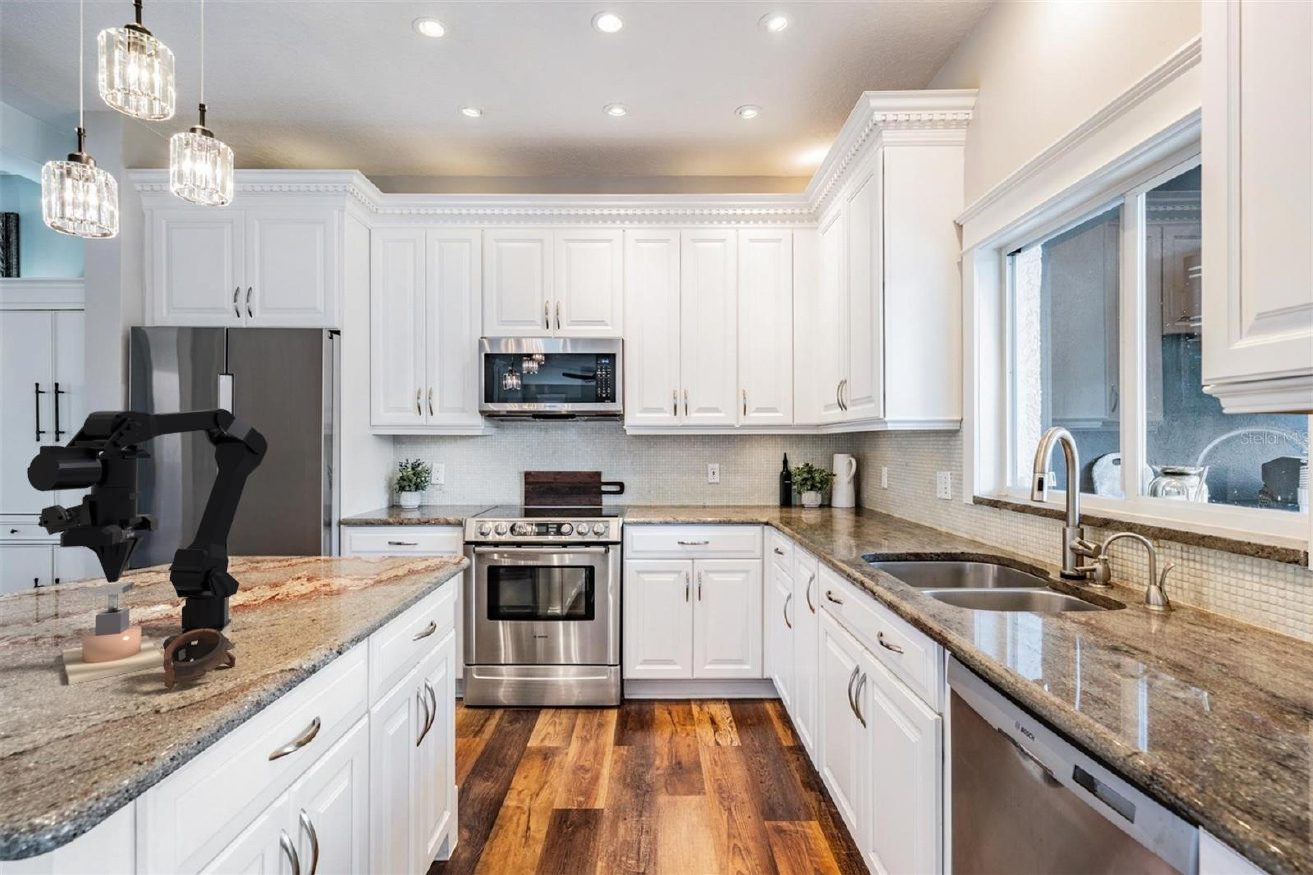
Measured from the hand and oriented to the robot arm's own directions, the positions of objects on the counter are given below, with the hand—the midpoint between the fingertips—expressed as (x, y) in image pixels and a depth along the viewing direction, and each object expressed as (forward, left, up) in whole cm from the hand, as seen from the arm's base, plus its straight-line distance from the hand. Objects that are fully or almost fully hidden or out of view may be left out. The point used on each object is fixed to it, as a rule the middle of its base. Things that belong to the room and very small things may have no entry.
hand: (113, 582), depth 99 cm
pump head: (+1, 0, -5) cm, 5 cm away
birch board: (0, 0, -13) cm, 13 cm away
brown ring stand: (-15, +13, -13) cm, 24 cm away
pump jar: (0, 0, -13) cm, 13 cm away
